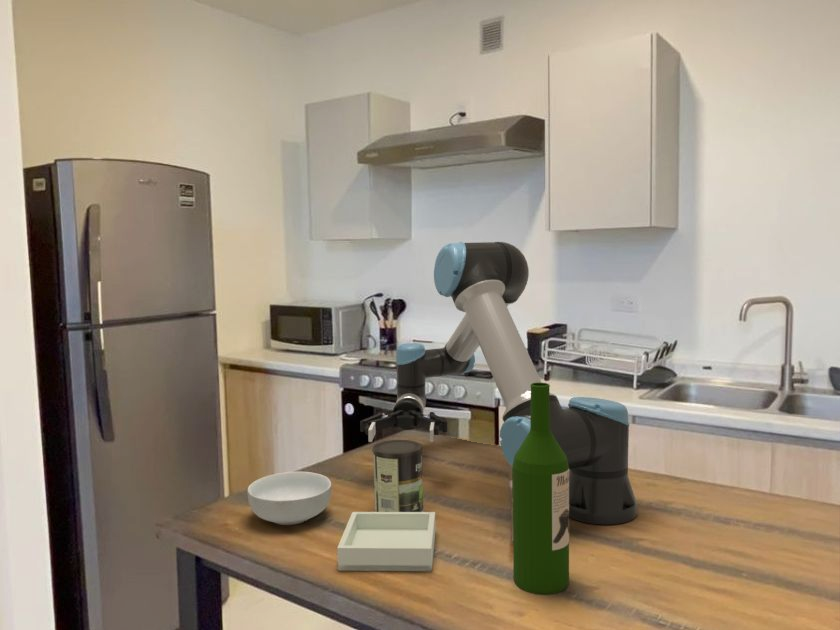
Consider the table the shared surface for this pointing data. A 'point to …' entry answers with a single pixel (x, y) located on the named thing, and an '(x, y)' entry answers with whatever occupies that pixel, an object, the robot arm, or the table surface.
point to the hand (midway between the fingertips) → (400, 436)
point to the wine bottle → (540, 504)
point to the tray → (387, 542)
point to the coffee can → (398, 476)
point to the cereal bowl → (289, 496)
